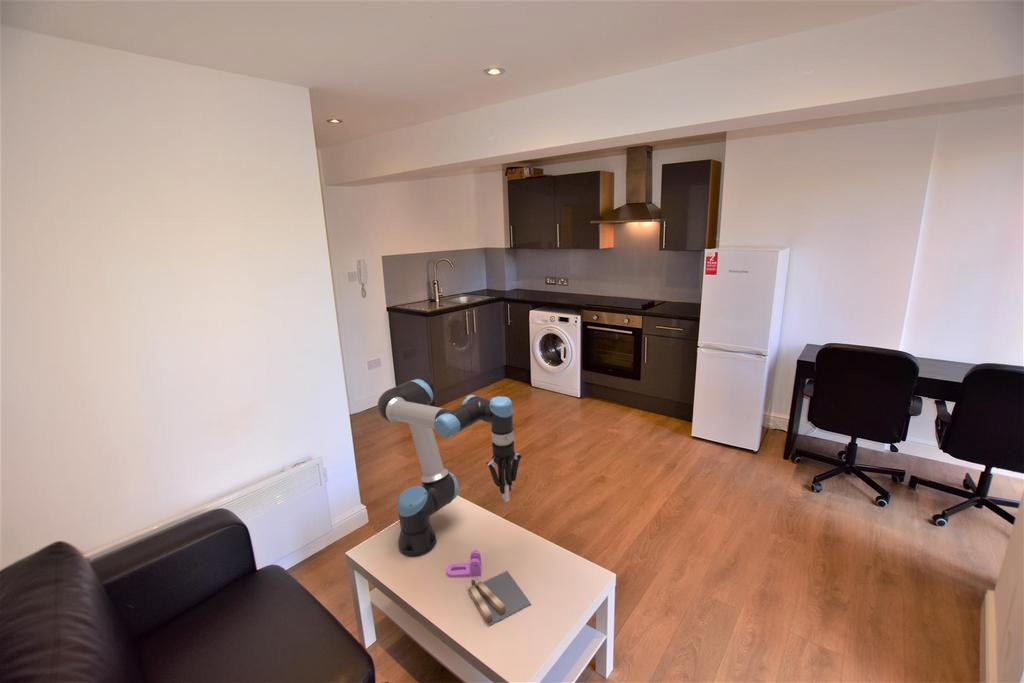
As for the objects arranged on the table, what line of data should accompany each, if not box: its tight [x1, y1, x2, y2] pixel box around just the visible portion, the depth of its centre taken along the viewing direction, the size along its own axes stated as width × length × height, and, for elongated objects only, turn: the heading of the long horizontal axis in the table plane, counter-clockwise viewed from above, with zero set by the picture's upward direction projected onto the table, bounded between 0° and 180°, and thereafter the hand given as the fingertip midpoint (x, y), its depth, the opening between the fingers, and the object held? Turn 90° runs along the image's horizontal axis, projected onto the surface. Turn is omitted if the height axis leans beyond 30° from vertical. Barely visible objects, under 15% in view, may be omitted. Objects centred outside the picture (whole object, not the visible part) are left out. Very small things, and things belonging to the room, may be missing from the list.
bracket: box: [445, 549, 482, 579], centre depth 170 cm, size 13×6×7 cm, turn 91°
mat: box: [467, 570, 532, 627], centre depth 159 cm, size 17×16×1 cm
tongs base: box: [468, 579, 492, 623], centre depth 155 cm, size 16×3×3 cm, turn 29°
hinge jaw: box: [476, 580, 506, 614], centre depth 157 cm, size 14×2×2 cm, turn 40°
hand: (505, 499), depth 164 cm, fingers closed
